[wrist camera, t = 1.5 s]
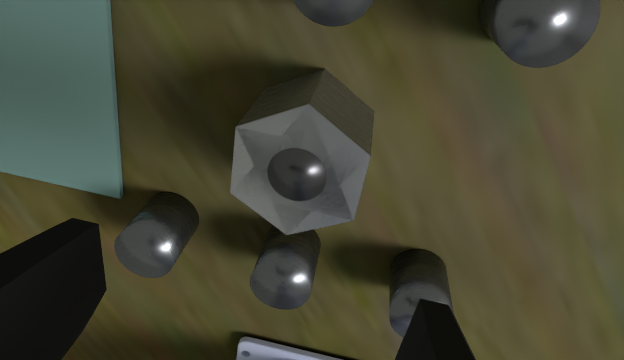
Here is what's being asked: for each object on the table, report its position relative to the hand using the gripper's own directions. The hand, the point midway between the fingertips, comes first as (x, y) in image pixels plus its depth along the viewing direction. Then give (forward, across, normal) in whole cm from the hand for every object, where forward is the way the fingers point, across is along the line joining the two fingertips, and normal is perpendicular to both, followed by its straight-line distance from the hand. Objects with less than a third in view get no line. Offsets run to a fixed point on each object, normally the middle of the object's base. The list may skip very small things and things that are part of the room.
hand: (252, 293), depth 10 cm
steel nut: (+10, 0, 0) cm, 10 cm away
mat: (+10, +12, 0) cm, 15 cm away
